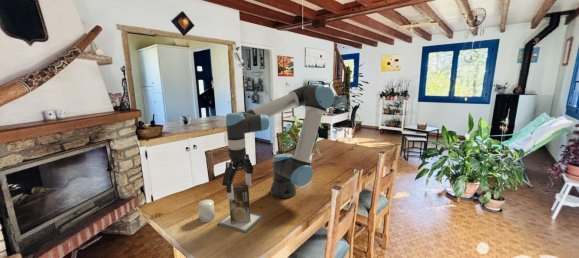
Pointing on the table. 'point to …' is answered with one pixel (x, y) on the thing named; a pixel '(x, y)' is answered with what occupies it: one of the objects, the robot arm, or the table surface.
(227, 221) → the mat
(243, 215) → the coffee box
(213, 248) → the table surface
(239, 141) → the robot arm
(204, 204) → the cream capsule pill
